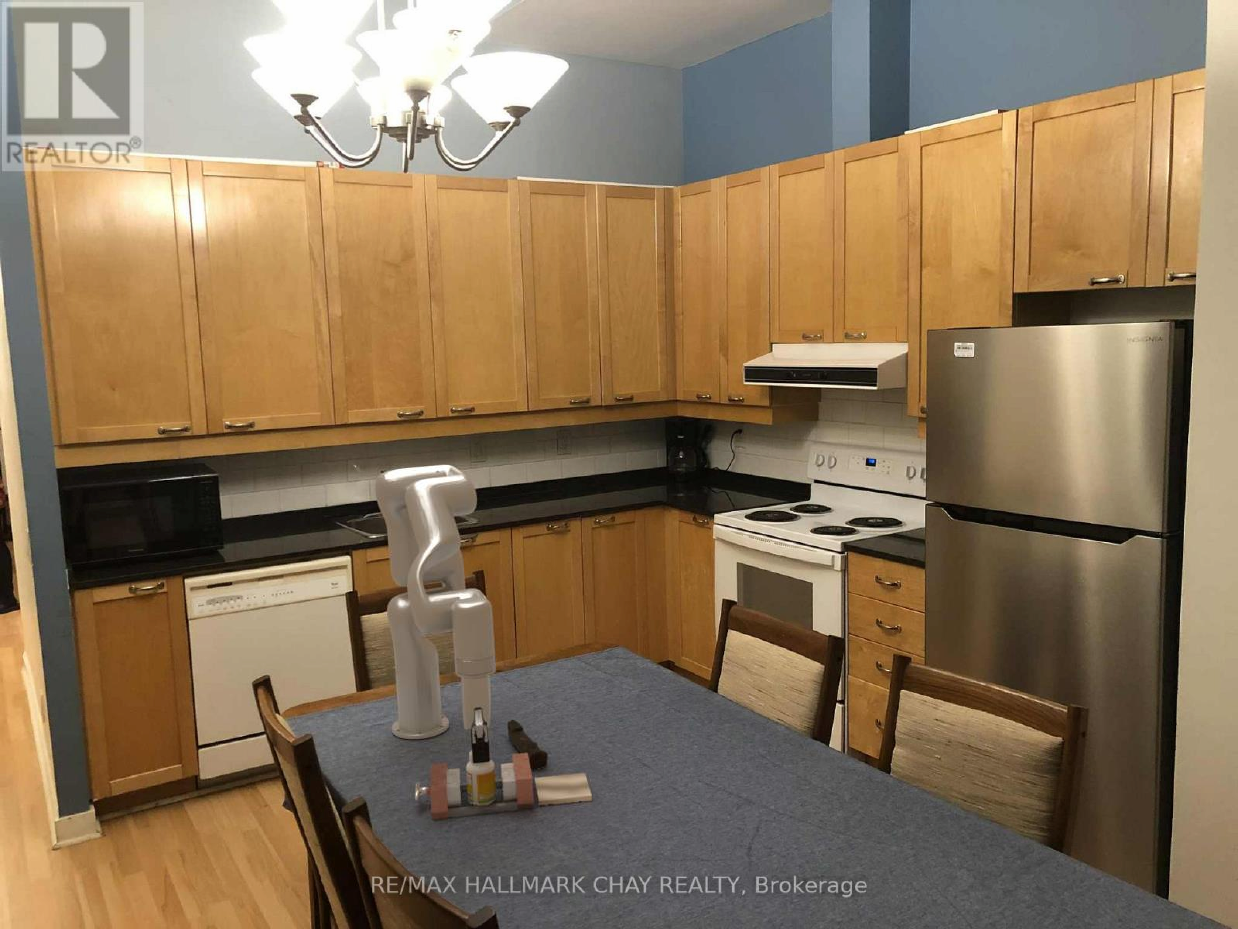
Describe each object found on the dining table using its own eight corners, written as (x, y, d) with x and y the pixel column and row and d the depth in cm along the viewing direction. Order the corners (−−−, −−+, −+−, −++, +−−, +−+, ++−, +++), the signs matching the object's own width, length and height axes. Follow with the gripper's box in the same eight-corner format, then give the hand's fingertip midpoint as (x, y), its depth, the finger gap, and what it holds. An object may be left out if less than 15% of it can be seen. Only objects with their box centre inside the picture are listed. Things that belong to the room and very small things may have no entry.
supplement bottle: (501, 795, 197) (498, 747, 195) (488, 808, 192) (486, 759, 190) (475, 792, 198) (473, 744, 197) (462, 804, 193) (460, 756, 192)
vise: (417, 793, 199) (415, 763, 198) (528, 781, 202) (527, 752, 201) (415, 821, 187) (413, 790, 187) (533, 808, 191) (532, 778, 190)
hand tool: (548, 769, 208) (548, 747, 208) (530, 772, 207) (529, 750, 206) (522, 735, 226) (521, 715, 225) (504, 738, 224) (503, 718, 224)
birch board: (534, 782, 202) (534, 778, 201) (585, 777, 203) (584, 772, 203) (539, 806, 192) (539, 801, 192) (591, 800, 193) (591, 795, 193)
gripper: (454, 652, 199) (460, 737, 201) (455, 681, 182) (461, 772, 184) (493, 649, 200) (498, 733, 202) (497, 677, 183) (502, 768, 185)
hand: (480, 752), depth 193 cm, fingers open, 9 cm apart
